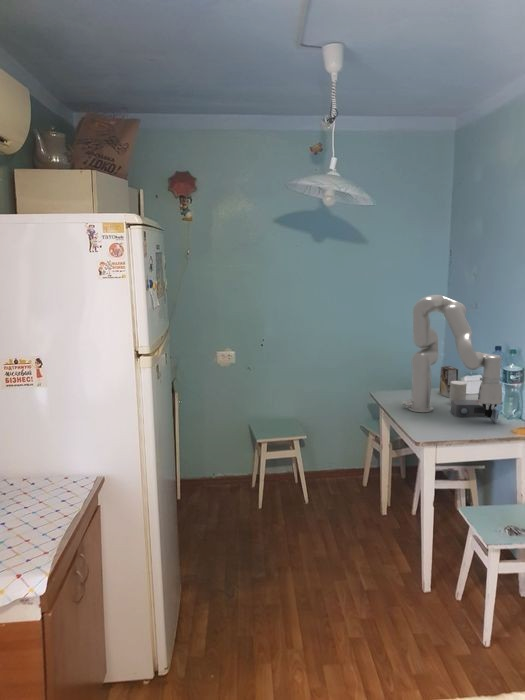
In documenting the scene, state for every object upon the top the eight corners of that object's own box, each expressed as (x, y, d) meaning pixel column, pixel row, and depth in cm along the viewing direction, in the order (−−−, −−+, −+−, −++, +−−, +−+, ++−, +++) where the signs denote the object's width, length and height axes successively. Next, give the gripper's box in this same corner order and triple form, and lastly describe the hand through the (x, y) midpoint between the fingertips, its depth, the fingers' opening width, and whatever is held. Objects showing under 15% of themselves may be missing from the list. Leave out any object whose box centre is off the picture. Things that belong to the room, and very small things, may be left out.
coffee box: (457, 396, 299) (458, 369, 296) (446, 397, 297) (448, 370, 294) (448, 392, 307) (450, 365, 304) (438, 393, 306) (440, 366, 303)
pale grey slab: (498, 423, 252) (499, 410, 251) (494, 423, 253) (495, 410, 252) (492, 416, 263) (493, 404, 261) (489, 416, 263) (490, 404, 262)
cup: (450, 405, 282) (451, 384, 280) (448, 401, 290) (449, 380, 287) (466, 406, 280) (467, 384, 278) (464, 402, 288) (465, 381, 285)
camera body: (456, 417, 263) (457, 404, 261) (450, 410, 273) (451, 398, 272) (489, 417, 262) (490, 404, 260) (482, 411, 272) (483, 398, 271)
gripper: (477, 382, 249) (475, 419, 252) (510, 382, 248) (507, 419, 251) (472, 378, 256) (470, 414, 259) (504, 378, 255) (501, 414, 259)
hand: (488, 416), depth 255 cm, fingers closed
